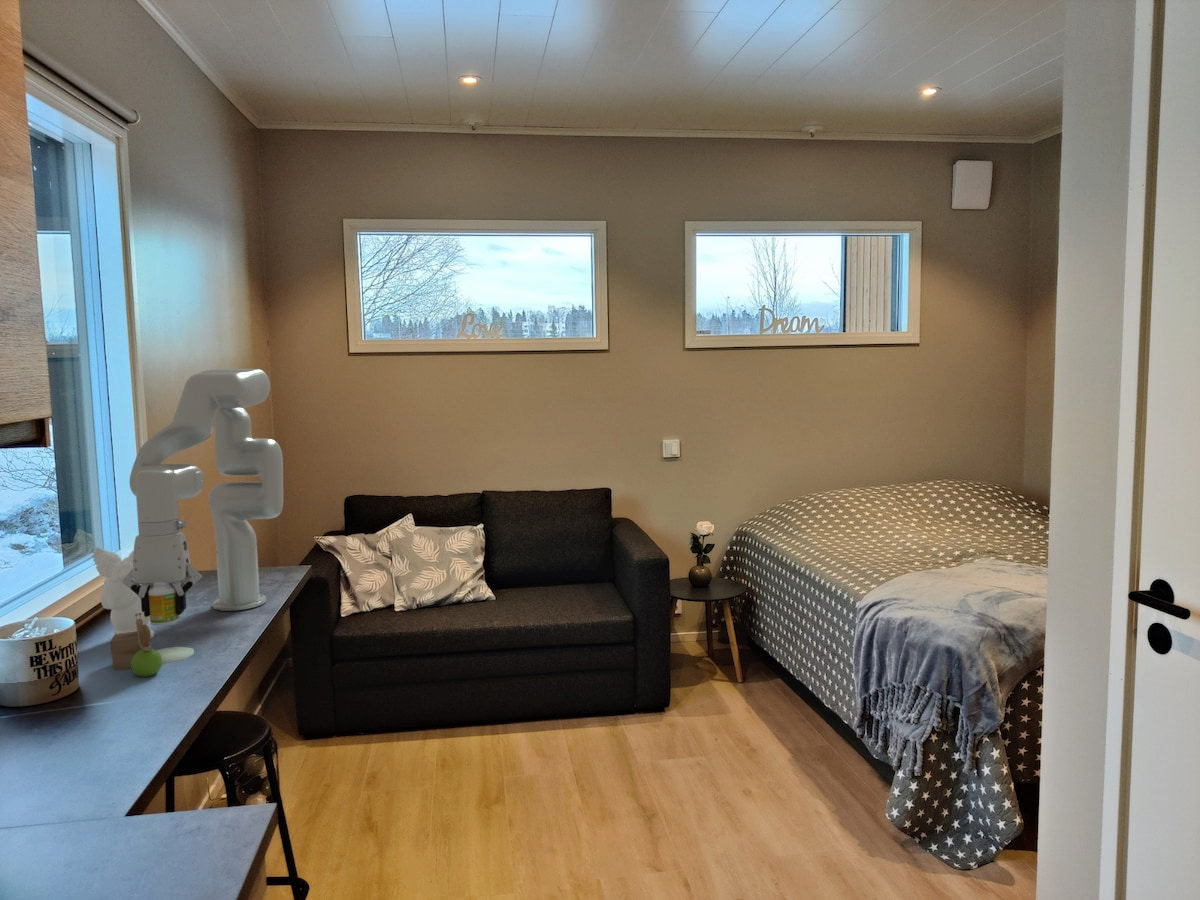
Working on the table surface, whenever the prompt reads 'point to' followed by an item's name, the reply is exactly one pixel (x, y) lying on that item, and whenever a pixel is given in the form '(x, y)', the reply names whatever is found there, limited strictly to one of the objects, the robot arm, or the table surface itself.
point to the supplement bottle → (162, 604)
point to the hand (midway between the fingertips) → (164, 613)
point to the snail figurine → (145, 653)
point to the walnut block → (124, 649)
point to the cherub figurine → (119, 591)
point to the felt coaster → (175, 654)
